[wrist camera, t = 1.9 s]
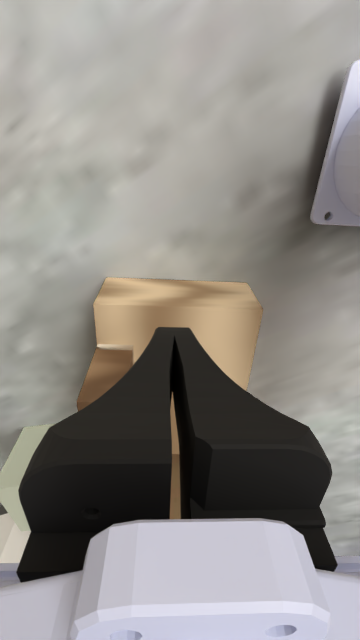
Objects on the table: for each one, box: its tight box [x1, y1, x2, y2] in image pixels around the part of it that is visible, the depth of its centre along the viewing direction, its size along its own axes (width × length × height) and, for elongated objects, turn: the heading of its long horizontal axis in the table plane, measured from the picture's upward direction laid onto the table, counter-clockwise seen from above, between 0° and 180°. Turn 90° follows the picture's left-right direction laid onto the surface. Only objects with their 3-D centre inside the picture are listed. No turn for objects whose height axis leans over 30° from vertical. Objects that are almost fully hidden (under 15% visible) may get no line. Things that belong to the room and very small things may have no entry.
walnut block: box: [77, 344, 134, 411], centre depth 19 cm, size 2×8×5 cm, turn 177°
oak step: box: [93, 277, 263, 454], centre depth 23 cm, size 10×13×4 cm
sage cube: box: [0, 423, 57, 531], centre depth 27 cm, size 6×6×6 cm
